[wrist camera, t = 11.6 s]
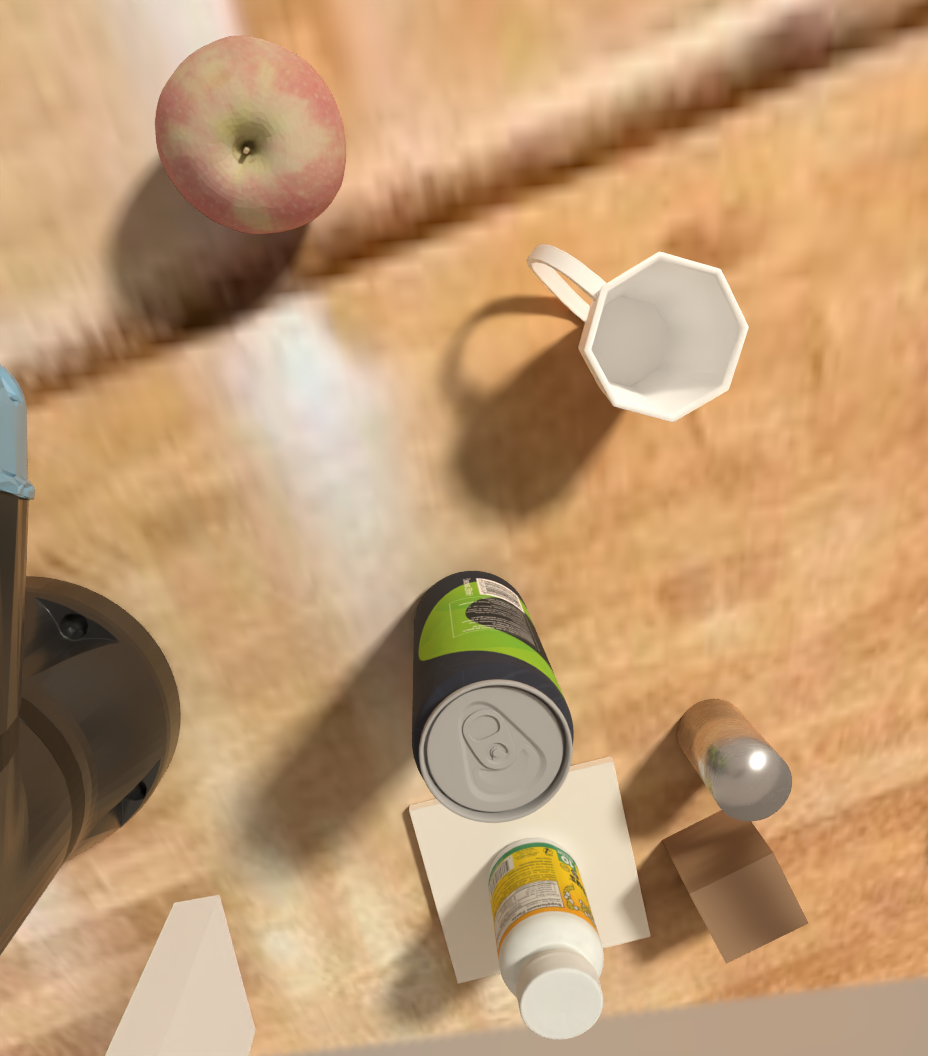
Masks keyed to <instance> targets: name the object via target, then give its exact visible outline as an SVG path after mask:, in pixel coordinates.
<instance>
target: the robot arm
mask: <svg viewBox="0 0 928 1056" xmlns="http://www.w3.org/2000/svg"><path fill="white" fill-rule="evenodd" d="M34 496H35V489H34V486H33V485H32V483H31V482H30V481H29V480H28V455H27V408H26V401H25V397H24V394H23V391H22V389H21V387H20V385H19V384H18V382H17V381H16V379H15V378H14V377H13V375H12V374H11V373H10V372H9V371H8V370H7V369H6V368H5V367H3V366H2V365H1V364H0V955H1V954H2V952H3V951H4V949H5V948H6V947H7V945H8V944H9V942H10V941H11V939H12V938H13V936H14V935H15V933H16V932H17V930H18V929H19V928H20V926H21V925H22V923H23V922H24V920H25V919H26V917H27V916H28V914H29V913H30V912H31V910H32V909H33V907H34V906H35V904H36V903H37V901H38V900H39V898H40V897H41V895H42V894H43V893H44V891H45V890H46V888H47V887H48V885H49V884H50V882H51V881H52V879H53V878H54V876H55V875H56V873H57V872H58V870H59V869H60V867H61V866H62V865H63V863H65V862H67V861H68V860H70V859H72V858H73V857H75V856H76V855H78V854H80V853H81V852H83V851H85V850H86V849H88V848H89V847H91V846H93V845H94V844H96V843H98V842H99V841H101V840H102V839H104V838H106V837H107V836H109V835H110V834H112V833H114V832H115V831H116V830H118V829H119V828H121V827H122V826H123V825H124V824H125V823H127V822H128V821H129V820H130V819H131V818H132V817H133V816H134V815H135V814H136V813H137V812H138V811H139V810H140V809H141V808H142V807H143V805H144V804H145V803H146V802H147V800H148V799H149V798H150V796H151V795H152V793H153V792H154V790H155V788H156V787H157V785H158V783H159V782H160V780H161V778H162V777H163V775H164V773H165V772H166V770H167V768H168V766H169V764H170V762H171V760H172V757H173V755H174V752H175V749H176V745H177V741H178V736H179V730H180V702H179V695H178V690H177V686H176V683H175V679H174V676H173V674H172V671H171V668H170V666H169V664H168V662H167V660H166V658H165V656H164V654H163V653H162V651H161V649H160V648H159V646H158V645H157V643H156V642H155V640H154V639H153V638H152V637H151V635H150V634H149V633H148V632H147V631H146V630H145V628H144V627H143V626H142V625H141V624H140V623H139V622H138V621H137V620H136V619H135V618H134V617H132V616H131V615H130V614H129V613H128V612H126V611H125V610H124V609H122V608H121V607H120V606H118V605H117V604H115V603H114V602H112V601H110V600H109V599H107V598H105V597H103V596H102V595H100V594H98V593H96V592H93V591H91V590H89V589H87V588H84V587H81V586H79V585H76V584H72V583H69V582H65V581H61V580H56V579H51V578H44V577H27V576H26V560H27V533H28V507H29V500H33V499H34ZM254 1033H255V1027H254V1023H253V1020H252V1016H251V1012H250V1008H249V1004H248V1001H247V997H246V993H245V989H244V986H243V982H242V978H241V974H240V971H239V967H238V963H237V959H236V955H235V952H234V948H233V944H232V940H231V937H230V933H229V929H228V925H227V922H226V918H225V914H224V910H223V906H222V903H221V899H220V895H215V896H210V897H204V898H198V899H193V900H187V901H181V902H176V903H174V905H173V907H172V909H171V911H170V914H169V916H168V918H167V920H166V922H165V925H164V927H163V929H162V931H161V933H160V936H159V938H158V940H157V942H156V944H155V947H154V949H153V951H152V953H151V955H150V958H149V960H148V962H147V964H146V966H145V969H144V971H143V973H142V975H141V977H140V980H139V982H138V984H137V986H136V988H135V991H134V993H133V995H132V997H131V999H130V1002H129V1004H128V1006H127V1008H126V1010H125V1013H124V1015H123V1017H122V1019H121V1021H120V1024H119V1026H118V1028H117V1030H116V1032H115V1035H114V1037H113V1039H112V1041H111V1044H110V1046H109V1048H108V1050H107V1052H106V1055H105V1056H249V1053H250V1049H251V1045H252V1041H253V1037H254Z"/></svg>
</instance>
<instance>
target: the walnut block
mask: <svg viewBox="0 0 928 1056" xmlns="http://www.w3.org/2000/svg"><path fill="white" fill-rule="evenodd" d="M662 841H663V843H664V845H665V847H666V849H667V851H668V853H669V855H670V857H671V859H672V861H673V863H674V865H675V867H676V869H677V871H678V873H679V875H680V877H681V879H682V881H683V883H684V885H685V887H686V889H687V891H688V893H689V895H690V897H691V899H692V900H693V902H694V904H695V906H696V908H697V910H698V912H699V914H700V915H701V917H702V919H703V921H704V923H705V925H706V927H707V928H708V930H709V932H710V934H711V936H712V938H713V940H714V942H715V943H716V945H717V947H718V949H719V951H720V953H721V955H722V956H723V958H724V960H725V962H726V963H728V962H730V961H732V960H734V959H737V958H739V957H741V956H743V955H745V954H747V953H749V952H751V951H753V950H755V949H757V948H759V947H761V946H763V945H765V944H767V943H769V942H771V941H773V940H775V939H777V938H779V937H782V936H784V935H786V934H788V933H790V932H792V931H794V930H796V929H798V928H800V927H802V926H804V925H806V924H808V921H807V919H806V917H805V915H804V913H803V911H802V909H801V907H800V905H799V903H798V901H797V899H796V897H795V895H794V893H793V891H792V889H791V887H790V885H789V883H788V881H787V879H786V877H785V875H784V873H783V871H782V869H781V867H780V865H779V863H778V861H777V859H776V857H775V855H774V853H773V852H772V850H771V849H770V847H769V846H768V845H767V843H766V842H765V840H764V839H763V838H762V836H761V835H760V833H759V832H758V831H757V829H756V828H755V826H754V825H753V824H752V822H751V821H741V820H737V819H734V818H732V817H730V816H729V815H727V814H726V813H725V812H724V811H723V810H721V811H719V812H717V813H715V814H713V815H711V816H709V817H707V818H705V819H703V820H701V821H699V822H697V823H695V824H693V825H691V826H689V827H687V828H685V829H683V830H681V831H679V832H677V833H675V834H673V835H671V836H669V837H667V838H665V839H663V840H662Z"/></svg>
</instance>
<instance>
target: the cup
mask: <svg viewBox="0 0 928 1056" xmlns="http://www.w3.org/2000/svg"><path fill="white" fill-rule="evenodd" d="M526 260H527V263H528V266H529V267H530V269H531V270H532V271H533V272H534V274H535V275H536V276H537V277H538V278H539V279H540V280H541V281H542V283H543V284H544V285H545V286H546V287H547V288H548V289H549V290H550V291H551V292H552V293H553V294H554V295H555V296H556V297H557V298H558V299H559V300H560V301H561V302H562V303H563V304H564V305H565V306H566V307H567V308H568V309H569V310H570V311H571V312H572V313H574V314H575V315H576V316H577V317H578V318H579V319H581V320H582V321H583V322H584V323H585V324H584V328H583V331H582V335H581V338H580V342H579V345H578V349H579V351H580V353H581V355H582V357H583V359H584V361H585V362H586V364H587V366H588V368H589V370H590V372H591V374H592V375H593V377H594V379H595V381H596V383H597V385H598V387H599V388H600V390H601V391H602V392H603V393H604V394H605V395H606V397H607V398H608V400H609V401H610V402H611V403H612V405H613V406H614V407H618V408H622V409H626V410H629V411H633V412H637V413H641V414H644V415H648V416H652V417H656V418H659V419H663V420H667V421H671V422H674V421H676V420H678V419H680V418H681V417H683V416H685V415H686V414H688V413H690V412H692V411H693V410H695V409H697V408H698V407H700V406H702V405H704V404H705V403H707V402H709V401H710V400H712V399H714V398H715V397H717V396H719V395H721V394H722V393H724V392H726V391H727V390H729V387H730V384H731V381H732V378H733V374H734V371H735V368H736V365H737V362H738V359H739V356H740V353H741V349H742V346H743V343H744V340H745V337H746V334H747V331H748V328H749V327H748V325H747V323H746V320H745V318H744V316H743V314H742V312H741V310H740V308H739V306H738V304H737V302H736V300H735V298H734V296H733V294H732V292H731V289H730V287H729V285H728V283H727V281H726V279H725V277H724V275H723V273H722V271H721V269H718V268H715V267H711V266H708V265H704V264H701V263H697V262H694V261H690V260H687V259H684V258H680V257H677V256H673V255H670V254H666V253H663V252H658V253H656V254H655V255H653V256H651V257H650V258H648V259H646V260H645V261H643V262H641V263H640V264H638V265H636V266H635V267H633V268H631V269H630V270H628V271H626V272H625V273H623V274H621V275H620V276H618V277H616V278H615V279H613V280H611V281H610V282H608V283H606V282H604V281H603V280H602V279H601V278H600V277H599V276H598V275H596V274H595V273H594V272H593V271H591V270H590V269H589V268H588V267H586V266H585V265H584V264H582V263H581V262H580V261H578V260H577V259H575V258H574V257H573V256H571V255H570V254H568V253H566V252H564V251H562V250H560V249H558V248H556V247H554V246H552V245H546V244H540V245H537V246H536V247H535V248H534V250H533V251H532V253H531V254H530V255H529V257H528V258H527V259H526ZM554 269H555V270H557V271H559V272H561V273H562V274H563V275H565V276H566V277H568V278H569V279H570V280H571V281H573V282H574V283H575V284H576V285H577V286H578V287H579V288H581V289H582V290H583V291H584V292H585V293H586V294H587V295H589V296H590V297H591V298H592V299H593V301H592V303H591V306H589V305H588V304H587V303H586V302H585V301H584V300H583V299H582V298H581V297H579V296H578V295H577V294H576V293H575V292H574V291H573V290H572V289H571V288H570V287H569V285H568V284H567V283H566V282H565V281H564V280H563V279H562V278H561V277H560V276H559V275H558V273H557V272H556V271H555V270H554Z"/></svg>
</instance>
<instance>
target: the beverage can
mask: <svg viewBox="0 0 928 1056" xmlns="http://www.w3.org/2000/svg"><path fill="white" fill-rule="evenodd" d="M572 746H573V723H572V718H571V714H570V711H569V708H568V706H567V703H566V701H565V699H564V696H563V694H562V691H561V689H560V687H559V684H558V682H557V680H556V677H555V675H554V672H553V670H552V668H551V665H550V663H549V661H548V658H547V656H546V653H545V651H544V649H543V646H542V644H541V642H540V639H539V637H538V634H537V632H536V630H535V627H534V625H533V623H532V620H531V618H530V615H529V613H528V611H527V608H526V606H525V604H524V602H523V600H522V598H521V596H520V595H519V593H518V592H517V591H516V590H515V589H514V588H513V587H512V586H511V585H510V584H509V583H508V582H506V581H505V580H503V579H502V578H500V577H498V576H495V575H493V574H490V573H486V572H481V571H464V572H459V573H455V574H452V575H450V576H447V577H445V578H443V579H442V580H440V581H439V582H437V583H436V584H435V585H433V586H432V587H431V588H430V589H429V590H428V592H427V593H426V594H425V595H424V597H423V598H422V600H421V602H420V604H419V606H418V608H417V611H416V615H415V621H414V659H413V713H412V748H413V754H414V759H415V762H416V765H417V768H418V770H419V772H420V774H421V776H422V778H423V779H424V781H425V783H426V785H427V787H428V788H429V790H430V791H431V793H432V794H433V795H434V797H435V798H436V799H437V800H438V801H439V802H440V803H441V804H442V805H443V806H445V807H446V808H447V809H449V810H450V811H452V812H453V813H455V814H457V815H459V816H461V817H464V818H467V819H470V820H474V821H478V822H485V823H501V822H508V821H513V820H516V819H520V818H522V817H525V816H527V815H529V814H531V813H533V812H535V811H537V810H538V809H540V808H541V807H543V806H544V805H545V804H546V803H548V802H549V801H550V800H551V799H552V798H553V797H554V796H555V794H556V793H557V792H558V791H559V789H560V788H561V786H562V785H563V783H564V781H565V779H566V777H567V775H568V772H569V769H570V765H571V761H572Z"/></svg>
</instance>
